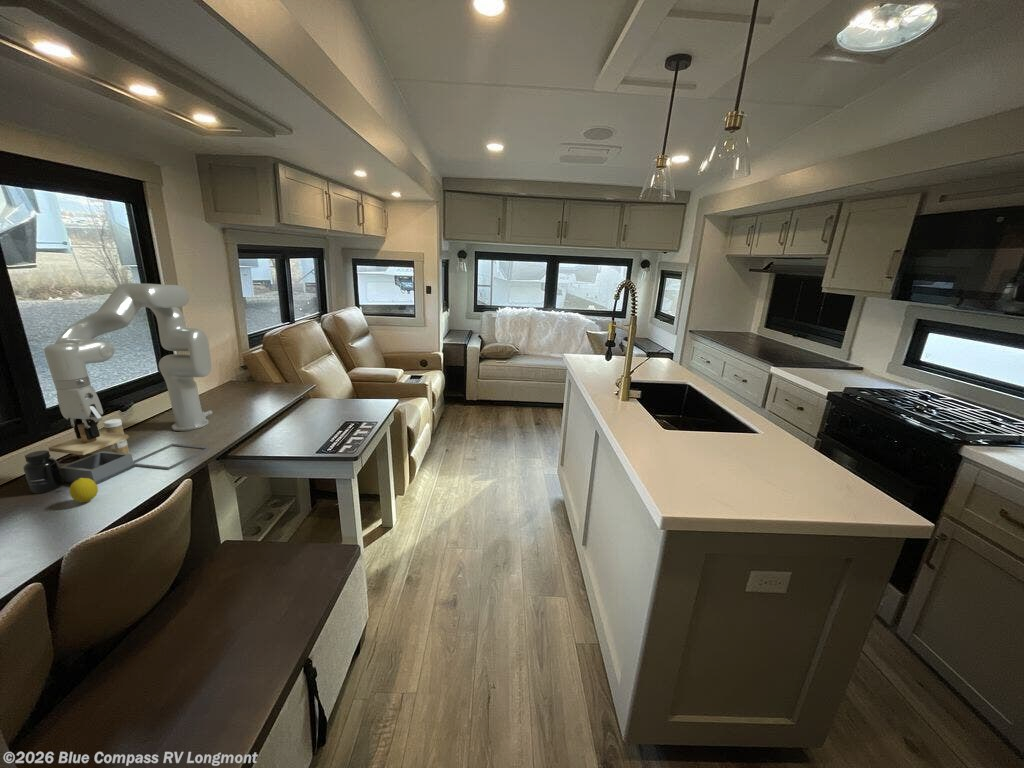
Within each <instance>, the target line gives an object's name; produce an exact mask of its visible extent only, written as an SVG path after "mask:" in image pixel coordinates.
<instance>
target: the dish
mask: <svg viewBox="0 0 1024 768" xmlns="http://www.w3.org/2000/svg"><path fill="white" fill-rule="evenodd" d="M133 461H134V459H133V455H132V453H129V454H125V453H115V452H113V451H104V450H101V451H98V452H95V453H93V454H90V455H89V456H85V457H82V458H81V459H78V460H75V461H73V462H70V463H68V464H64V465H63V466H59V469H60V473H61V476H62V479H63V483H64V482H66V483H71V484H72V483H73V482H74V481H76V480H78V479H79V478H89V479H91V480H93V481H94V482H95V483H96V485H97V486H98V485H99V484H101V483H103V482H106V481H108V480H111V479H112V478H115V477H117V476H119V475H121V474H123V473H125V472H128V471H130V470H133V469H134V468H136V466H134V462H133Z"/></svg>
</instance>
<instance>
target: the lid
mask: <svg viewBox="0 0 1024 768" xmlns="http://www.w3.org/2000/svg"><path fill="white" fill-rule="evenodd" d="M77 426H78V429H79V432H80V436H81V439H77V437H75V438H72V439H70V440H67V441H64V442H61V443H58V444H55V445H52V446H49V447H48V451H49V452H55V453H60V454H61V453H62V454H68V455H69V454H71V455H78V456H85V455H87V454H91V453H93V452H95V451H98V450H101V449H103V448H106V447H109V446H110V445H112V444H114V443H117V442H120V441H122V440H125V439H126V440H127V439H129V438H130V436H129V435H128V434H125V433H124V434H116V433H107V431H106V432H105V431H99V434H100V436H99V437H97V438H94V439H91V440H88V439H87V436H86V433H85V430H84V428H86V427H85V424H84V423H80V424H78V425H77Z"/></svg>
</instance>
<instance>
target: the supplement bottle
mask: <svg viewBox="0 0 1024 768" xmlns="http://www.w3.org/2000/svg"><path fill="white" fill-rule="evenodd" d="M24 458H25V462H26V463H25V464H24V466H23V467H22V469H23V472H24V475H25V478H26V480H27V483H28V486H29V489H30V492H32V493H33V494H46V493H49V492H53V491H55V490H58V489H59V488H61V487H62V486H63V485H64V480H63V477H62V474H61V472H60V469H59V468H60V466H59V463H58V460H57V459H56V458H53V457H51V454H50V451H49V450H47V449H45V450H44V449H42V450H37V451H32V452H29V453H27V454H25V455H24Z"/></svg>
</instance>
